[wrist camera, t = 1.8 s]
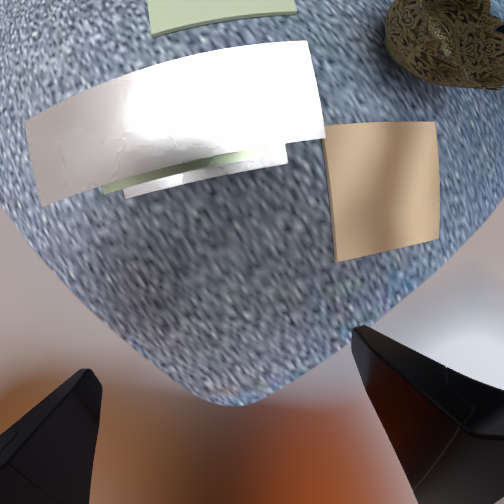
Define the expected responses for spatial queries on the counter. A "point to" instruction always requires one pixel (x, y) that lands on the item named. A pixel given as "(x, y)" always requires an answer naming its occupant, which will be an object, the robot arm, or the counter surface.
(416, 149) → the oak mat
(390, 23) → the brown ornate lampshade
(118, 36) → the counter surface
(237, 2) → the sage mat
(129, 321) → the counter surface
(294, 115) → the box
